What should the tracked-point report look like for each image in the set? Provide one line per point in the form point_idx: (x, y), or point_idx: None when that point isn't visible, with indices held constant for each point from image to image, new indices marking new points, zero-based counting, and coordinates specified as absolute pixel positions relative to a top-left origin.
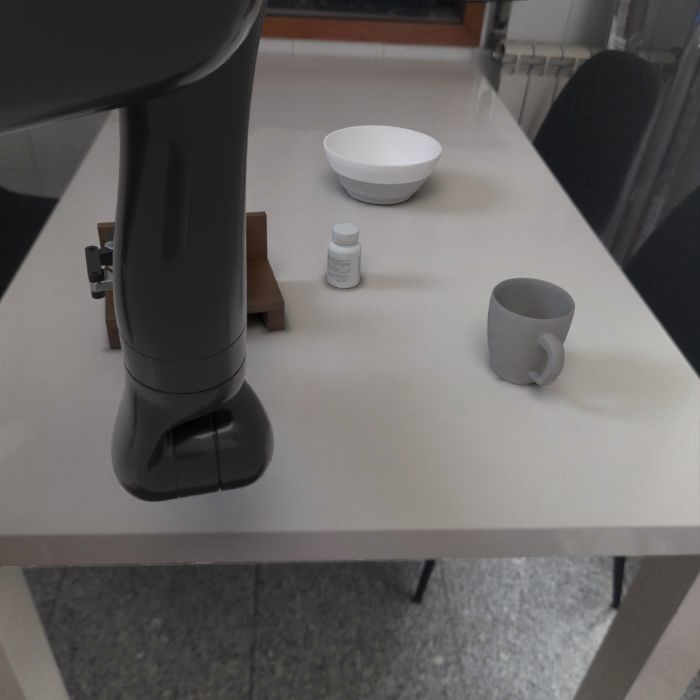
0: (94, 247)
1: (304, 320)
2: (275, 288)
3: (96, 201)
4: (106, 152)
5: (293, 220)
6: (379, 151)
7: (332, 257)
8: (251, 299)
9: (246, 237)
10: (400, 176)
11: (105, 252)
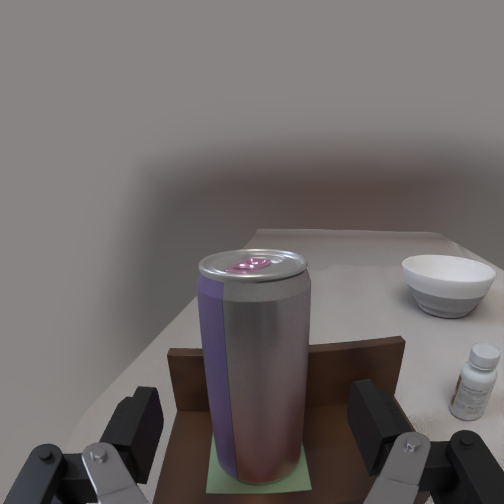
0: (54, 454)
1: None
2: None
3: None
4: None
5: (386, 337)
6: (436, 275)
7: (469, 387)
8: None
9: (374, 373)
10: (476, 291)
11: (80, 476)
